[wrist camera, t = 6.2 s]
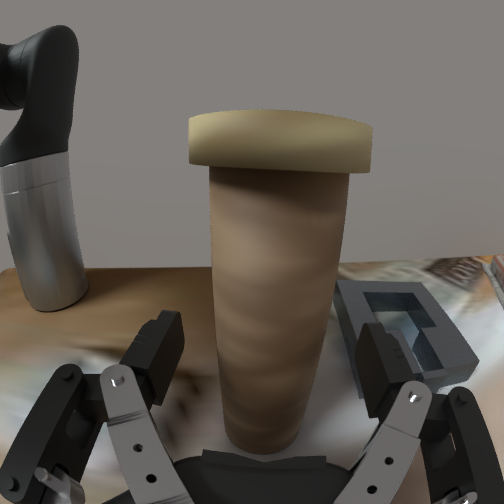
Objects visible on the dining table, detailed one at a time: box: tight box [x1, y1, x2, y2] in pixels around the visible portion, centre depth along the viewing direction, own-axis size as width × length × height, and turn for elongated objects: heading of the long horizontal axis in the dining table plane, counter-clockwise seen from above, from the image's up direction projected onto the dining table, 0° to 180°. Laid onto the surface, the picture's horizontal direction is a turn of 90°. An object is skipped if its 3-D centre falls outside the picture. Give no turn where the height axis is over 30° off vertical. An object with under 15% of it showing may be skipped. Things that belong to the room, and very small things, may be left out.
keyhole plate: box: [333, 280, 479, 399], centre depth 23 cm, size 12×15×2 cm
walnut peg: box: [189, 110, 372, 454], centre depth 12 cm, size 6×6×18 cm
